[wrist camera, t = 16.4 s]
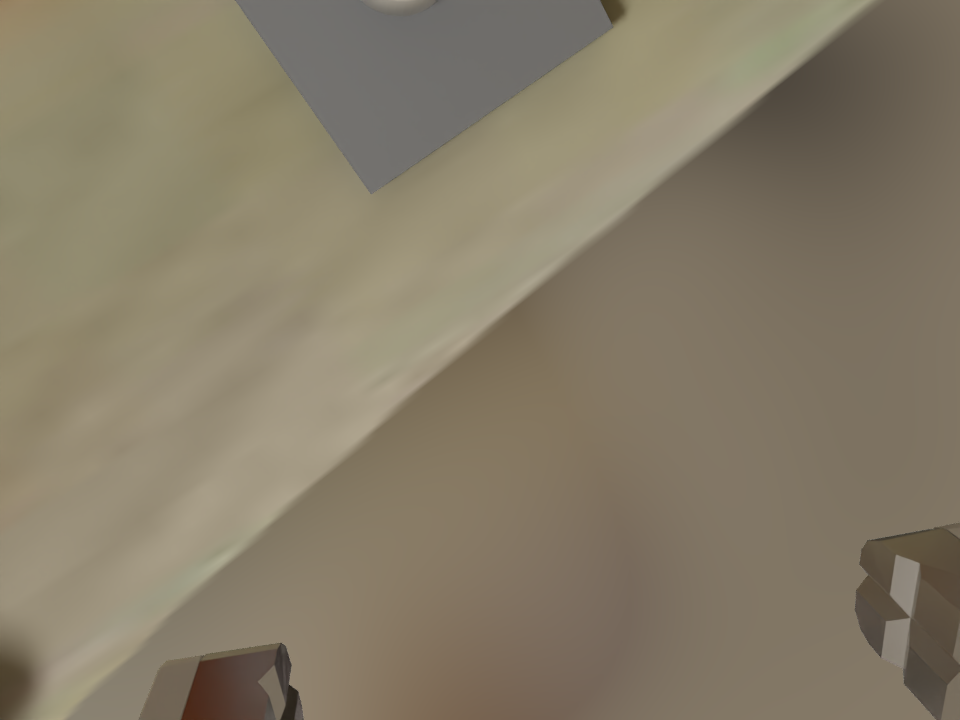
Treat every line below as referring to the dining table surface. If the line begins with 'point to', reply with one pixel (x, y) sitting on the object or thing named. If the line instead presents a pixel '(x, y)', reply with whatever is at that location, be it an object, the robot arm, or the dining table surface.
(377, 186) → the serving board
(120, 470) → the dining table surface
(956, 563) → the robot arm
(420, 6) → the white lidded jar
